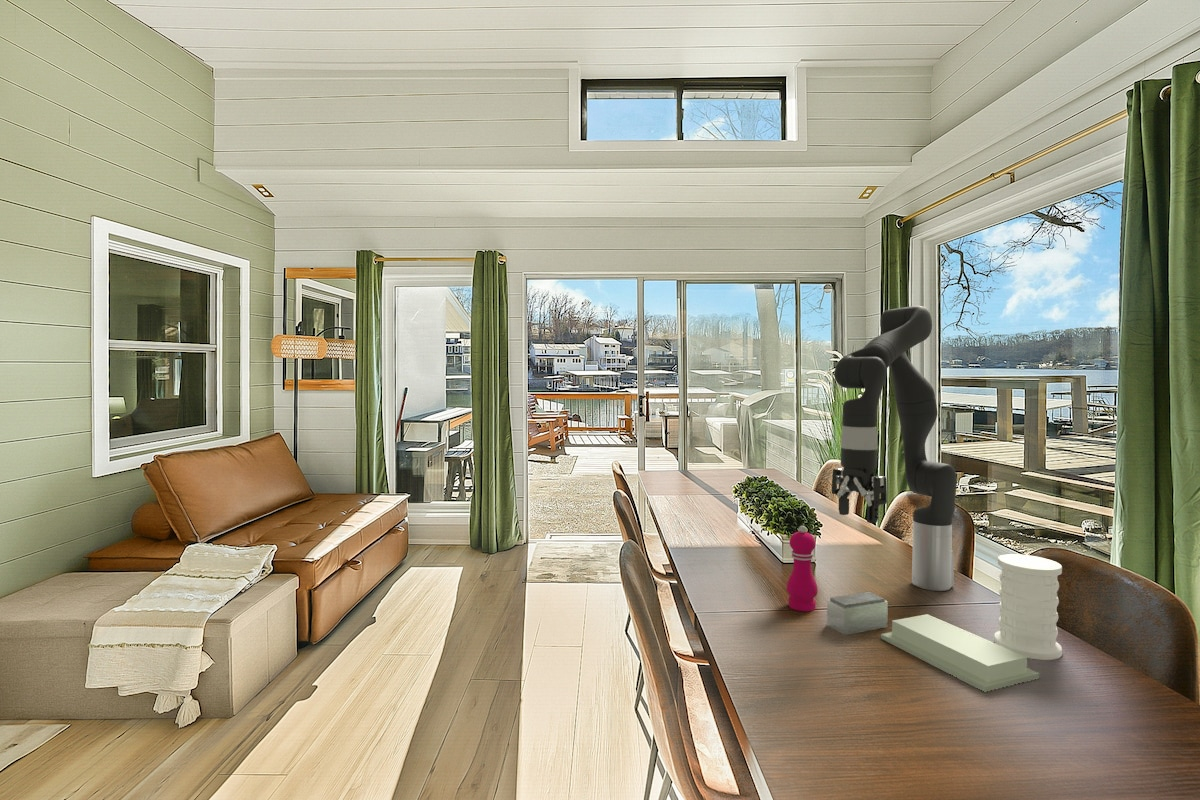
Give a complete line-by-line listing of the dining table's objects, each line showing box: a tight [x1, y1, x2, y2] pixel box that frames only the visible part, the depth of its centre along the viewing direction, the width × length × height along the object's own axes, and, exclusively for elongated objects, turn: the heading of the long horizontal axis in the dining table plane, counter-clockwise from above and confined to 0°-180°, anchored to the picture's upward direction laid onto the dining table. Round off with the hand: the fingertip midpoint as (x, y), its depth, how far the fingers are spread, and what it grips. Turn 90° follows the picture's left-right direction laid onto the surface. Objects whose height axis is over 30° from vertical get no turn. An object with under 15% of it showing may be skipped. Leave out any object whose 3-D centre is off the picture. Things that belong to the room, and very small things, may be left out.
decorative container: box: [993, 553, 1063, 661], centre depth 128 cm, size 12×12×18 cm
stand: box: [880, 613, 1040, 693], centre depth 124 cm, size 14×24×4 cm, turn 20°
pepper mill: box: [786, 525, 818, 612], centre depth 150 cm, size 7×7×20 cm
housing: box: [826, 591, 889, 636], centre depth 139 cm, size 12×6×7 cm, turn 110°
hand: (857, 518), depth 138 cm, fingers open, 8 cm apart
